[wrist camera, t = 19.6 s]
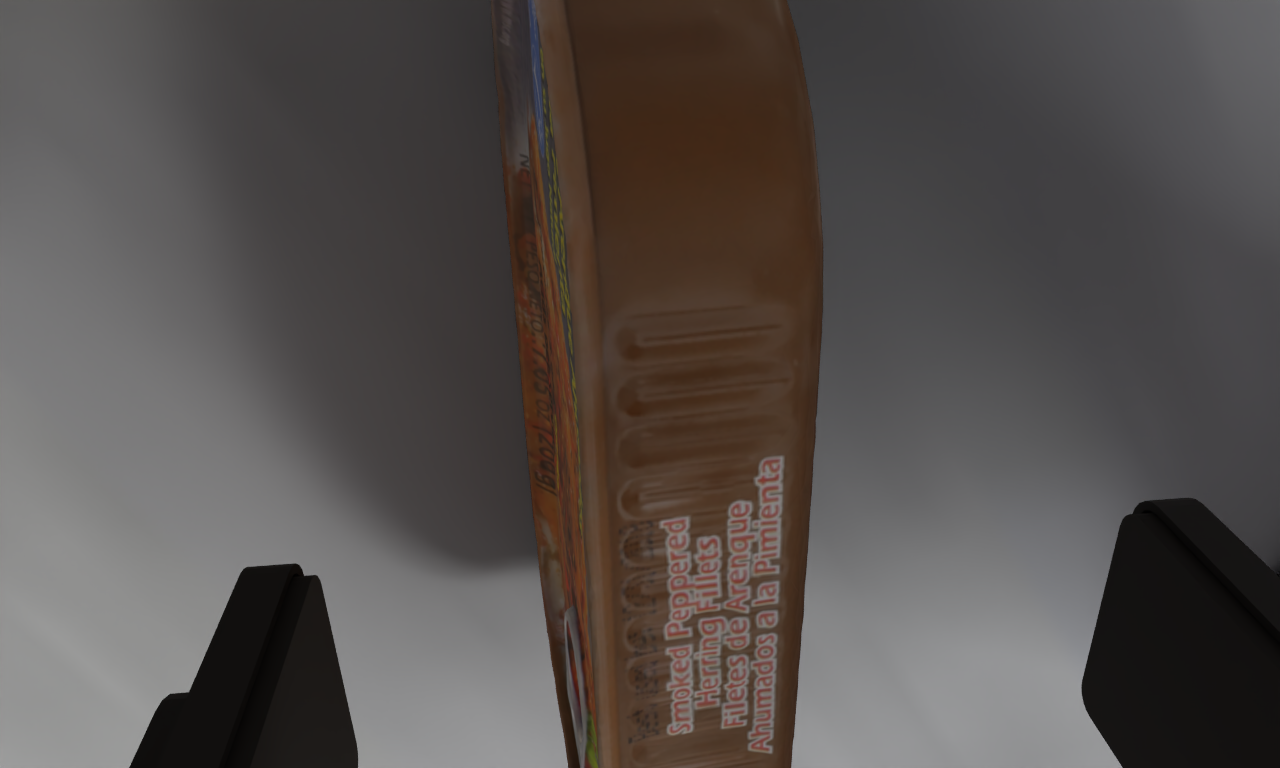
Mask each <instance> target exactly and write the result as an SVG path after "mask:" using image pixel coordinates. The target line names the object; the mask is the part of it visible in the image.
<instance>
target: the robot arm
mask: <svg viewBox="0 0 1280 768" xmlns="http://www.w3.org/2000/svg"><path fill="white" fill-rule="evenodd" d="M1082 697H1083V702H1084V705H1085V708H1086V711H1087V712H1088V714H1089V716H1090V718H1091V719H1092V721H1093V722H1094V724H1095V726H1096V727H1097V729H1098V730H1099V732H1100V733H1101V735H1102V736H1103V738H1104V739H1105V741H1106V742H1107V744H1108V746H1109V747H1110V749H1111V750H1112V752H1113V753H1114V755H1115V756H1116V758H1117V759H1118V761H1119V763H1120V764H1121V766H1122V767H1123V768H1280V577H1278V576H1277V575H1276V574H1275V573H1274V572H1273V571H1272V570H1271V569H1270V568H1269V567H1268V566H1267V565H1266V564H1265V563H1264V562H1263V561H1262V560H1261V559H1260V558H1259V557H1258V556H1257V555H1256V554H1254V553H1253V552H1252V551H1251V550H1250V549H1249V548H1248V547H1247V546H1246V545H1245V544H1244V543H1243V542H1242V541H1241V540H1240V539H1239V538H1238V537H1237V536H1236V535H1235V534H1234V533H1233V532H1231V531H1230V530H1229V529H1228V528H1227V527H1226V526H1225V525H1224V524H1223V523H1222V522H1221V521H1220V520H1219V519H1218V518H1217V517H1216V516H1215V515H1214V514H1213V513H1212V512H1211V511H1210V510H1208V509H1207V508H1206V507H1205V506H1204V505H1203V504H1202V503H1201V502H1199V501H1198V500H1196V499H1193V498H1178V499H1165V500H1151V501H1144V502H1141V503H1139V504H1138V505H1137V507H1136V508H1135V509H1134V512H1133V514H1130V515H1127V516H1125V517H1124V519H1123V520H1122V522H1121V525H1120V528H1119V532H1118V537H1117V541H1116V545H1115V549H1114V553H1113V557H1112V561H1111V565H1110V569H1109V573H1108V578H1107V582H1106V586H1105V590H1104V594H1103V598H1102V602H1101V606H1100V610H1099V614H1098V619H1097V623H1096V627H1095V631H1094V635H1093V639H1092V643H1091V647H1090V651H1089V655H1088V660H1087V664H1086V668H1085V672H1084V676H1083V680H1082ZM129 768H358V750H357V743H356V739H355V734H354V730H353V725H352V721H351V716H350V712H349V707H348V703H347V698H346V694H345V689H344V685H343V680H342V675H341V671H340V666H339V662H338V657H337V653H336V648H335V644H334V639H333V635H332V630H331V626H330V621H329V617H328V612H327V608H326V603H325V599H324V594H323V590H322V585H321V582H320V579H319V578H318V576H316V575H310V576H304V574H303V571H302V569H301V567H300V566H299V565H298V564H283V565H269V566H256V567H247V568H245V569H243V571H242V572H241V574H240V576H239V578H238V580H237V582H236V585H235V587H234V589H233V592H232V594H231V596H230V599H229V601H228V603H227V606H226V608H225V610H224V613H223V615H222V617H221V620H220V622H219V624H218V627H217V629H216V631H215V634H214V636H213V638H212V640H211V643H210V645H209V647H208V650H207V652H206V654H205V657H204V659H203V661H202V664H201V666H200V668H199V671H198V673H197V675H196V678H195V680H194V682H193V685H192V687H191V689H190V691H189V692H188V693H176V694H169V695H168V696H167V697H166V698H164V699H163V700H162V702H161V703H160V705H159V706H158V708H157V710H156V711H155V713H154V715H153V718H152V720H151V722H150V724H149V726H148V728H147V731H146V733H145V735H144V737H143V739H142V741H141V744H140V746H139V748H138V750H137V752H136V754H135V757H134V759H133V761H132V763H131V765H130V767H129Z"/></svg>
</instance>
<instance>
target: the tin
mask: <svg viewBox="0 0 1280 768" xmlns="http://www.w3.org/2000/svg"><path fill="white" fill-rule="evenodd" d="M491 16H492V32H493V45H494V65H495V76H496V86H497V92H498V99H499V122H500V139H501V153H502V163H503V176H504V188H505V195H506V210H507V223H508V234H509V244H510V255H511V266H512V279H513V288H514V300H515V314H516V325H517V334H518V346H519V360H520V371H521V382H522V395H523V407H524V419H525V431H526V443H527V454H528V464H529V474H530V485H531V496H532V507H533V518H534V524H535V532H536V539H537V548H538V560H539V570H540V578H541V587H542V595H543V602H544V610H545V616H546V624H547V633H548V637H549V644H550V652H551V660H552V667H553V672H554V677H555V684H556V693H557V699H558V705H559V711H560V717H561V722H562V727H563V733H564V738H565V746H566V753H567V760H568V768H791V762H792V745H793V738H794V727H795V714H796V701H797V690H798V671H799V660H800V648H801V631H802V624H803V616H804V589H805V578H806V567H807V553H808V539H809V519H810V506H811V494H812V477H813V457H814V447H815V438H816V422H815V420H816V414H817V399H818V383H819V366H820V350H821V334H822V313H823V236H822V220H821V203H820V190H819V178H818V167H817V155H816V143H815V132H814V124H813V118H812V112H811V107H810V101H809V96H808V90H807V85H806V79H805V74H804V68H803V63H802V58H801V52H800V47H799V42H798V37H797V34H796V30H795V27H794V23H793V20H792V17H791V13H790V10H789V6H788V3H787V0H491Z"/></svg>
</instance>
